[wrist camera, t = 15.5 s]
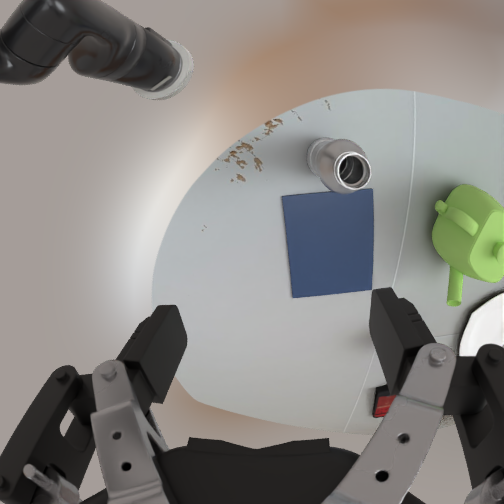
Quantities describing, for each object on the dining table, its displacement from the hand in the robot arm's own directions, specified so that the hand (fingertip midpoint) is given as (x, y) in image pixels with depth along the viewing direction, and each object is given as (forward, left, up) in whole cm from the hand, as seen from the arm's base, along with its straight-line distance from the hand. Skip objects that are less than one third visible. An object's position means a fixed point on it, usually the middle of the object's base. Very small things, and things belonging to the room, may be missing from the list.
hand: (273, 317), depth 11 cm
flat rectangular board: (+13, +8, -38) cm, 41 cm away
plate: (+41, +55, -38) cm, 79 cm away
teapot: (+14, +36, -38) cm, 54 cm away
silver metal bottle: (-3, +8, -38) cm, 39 cm away
